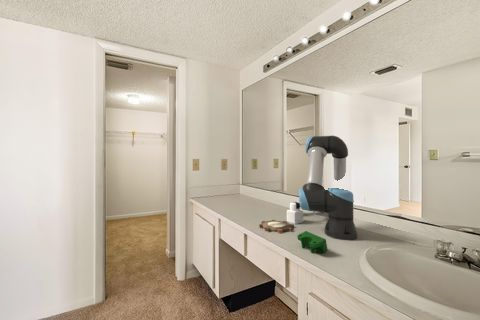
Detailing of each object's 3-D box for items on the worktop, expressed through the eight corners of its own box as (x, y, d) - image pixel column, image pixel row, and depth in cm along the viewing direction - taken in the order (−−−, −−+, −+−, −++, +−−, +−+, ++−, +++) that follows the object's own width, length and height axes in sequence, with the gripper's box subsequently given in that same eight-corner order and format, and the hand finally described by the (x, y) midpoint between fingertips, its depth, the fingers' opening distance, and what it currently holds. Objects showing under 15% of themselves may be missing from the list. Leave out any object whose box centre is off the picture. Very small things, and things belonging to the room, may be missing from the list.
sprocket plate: (300, 227, 118) (300, 224, 118) (282, 235, 104) (282, 232, 104) (272, 220, 131) (272, 217, 131) (252, 227, 117) (252, 224, 117)
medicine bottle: (294, 219, 134) (294, 201, 134) (303, 222, 127) (303, 202, 128) (286, 221, 130) (286, 202, 130) (294, 224, 124) (294, 204, 124)
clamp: (302, 256, 91) (293, 236, 93) (312, 251, 94) (303, 231, 96) (320, 257, 81) (309, 234, 83) (331, 250, 83) (320, 228, 86)
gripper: (333, 212, 143) (321, 218, 127) (300, 206, 160) (285, 211, 144) (333, 201, 143) (321, 205, 127) (300, 196, 160) (285, 200, 144)
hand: (302, 208), depth 136 cm, fingers open, 13 cm apart
